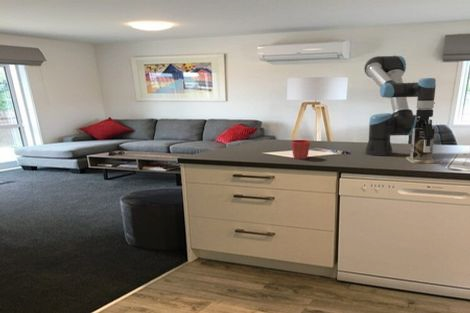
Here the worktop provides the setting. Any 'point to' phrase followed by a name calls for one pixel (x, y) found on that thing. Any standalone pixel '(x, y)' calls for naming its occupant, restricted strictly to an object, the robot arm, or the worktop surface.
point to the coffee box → (420, 145)
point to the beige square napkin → (420, 160)
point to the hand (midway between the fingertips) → (421, 150)
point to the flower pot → (300, 148)
